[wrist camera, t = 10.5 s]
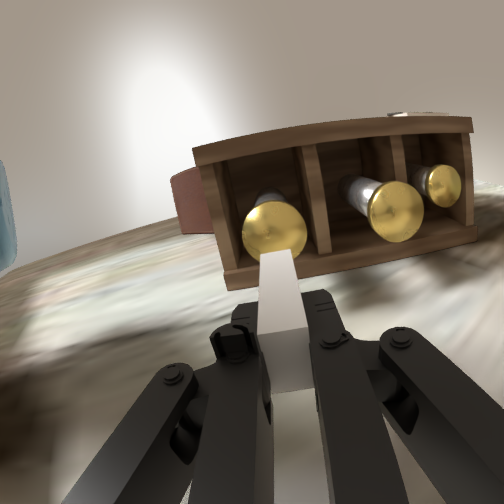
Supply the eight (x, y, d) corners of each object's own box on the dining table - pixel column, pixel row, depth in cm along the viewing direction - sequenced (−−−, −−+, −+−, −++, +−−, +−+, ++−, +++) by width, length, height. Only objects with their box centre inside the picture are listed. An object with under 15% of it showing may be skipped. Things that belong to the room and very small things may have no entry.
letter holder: (256, 233, 52) (239, 156, 47) (181, 235, 63) (165, 174, 58) (280, 217, 59) (267, 150, 54) (209, 221, 70) (196, 165, 66)
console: (477, 241, 29) (470, 110, 23) (227, 291, 32) (190, 140, 26) (428, 214, 42) (418, 116, 36) (238, 248, 45) (213, 142, 40)
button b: (424, 237, 21) (421, 179, 19) (374, 247, 21) (369, 186, 19) (371, 204, 33) (367, 166, 31) (335, 210, 33) (330, 171, 32)
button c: (311, 259, 22) (301, 197, 20) (249, 269, 22) (235, 209, 21) (294, 217, 34) (287, 178, 32) (254, 225, 34) (246, 186, 33)
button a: (461, 204, 26) (459, 164, 24) (431, 209, 27) (428, 166, 25) (412, 186, 38) (409, 156, 37) (386, 190, 39) (382, 159, 37)
